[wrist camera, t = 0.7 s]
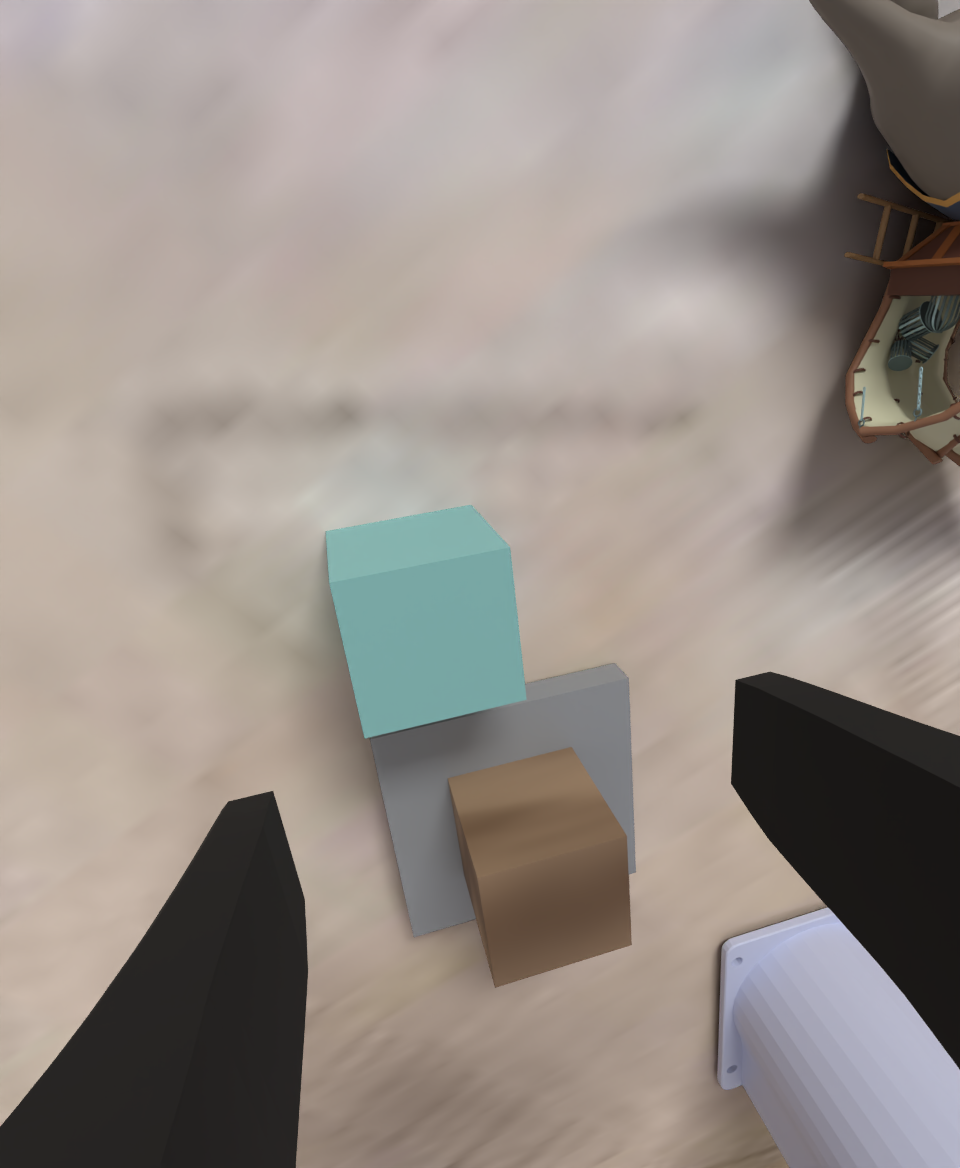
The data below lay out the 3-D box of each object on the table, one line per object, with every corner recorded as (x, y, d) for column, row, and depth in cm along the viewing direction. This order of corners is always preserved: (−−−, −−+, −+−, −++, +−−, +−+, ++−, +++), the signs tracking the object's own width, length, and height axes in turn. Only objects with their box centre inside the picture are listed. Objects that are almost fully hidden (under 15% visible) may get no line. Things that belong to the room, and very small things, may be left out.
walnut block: (579, 844, 22) (631, 944, 18) (464, 876, 21) (495, 987, 18) (571, 746, 21) (627, 835, 17) (447, 778, 20) (477, 878, 16)
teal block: (486, 631, 20) (526, 699, 16) (354, 661, 19) (364, 738, 15) (470, 504, 18) (510, 547, 15) (325, 530, 17) (329, 583, 14)
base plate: (623, 852, 24) (635, 872, 23) (410, 913, 23) (413, 937, 22) (614, 663, 21) (628, 677, 20) (367, 720, 20) (370, 739, 19)
